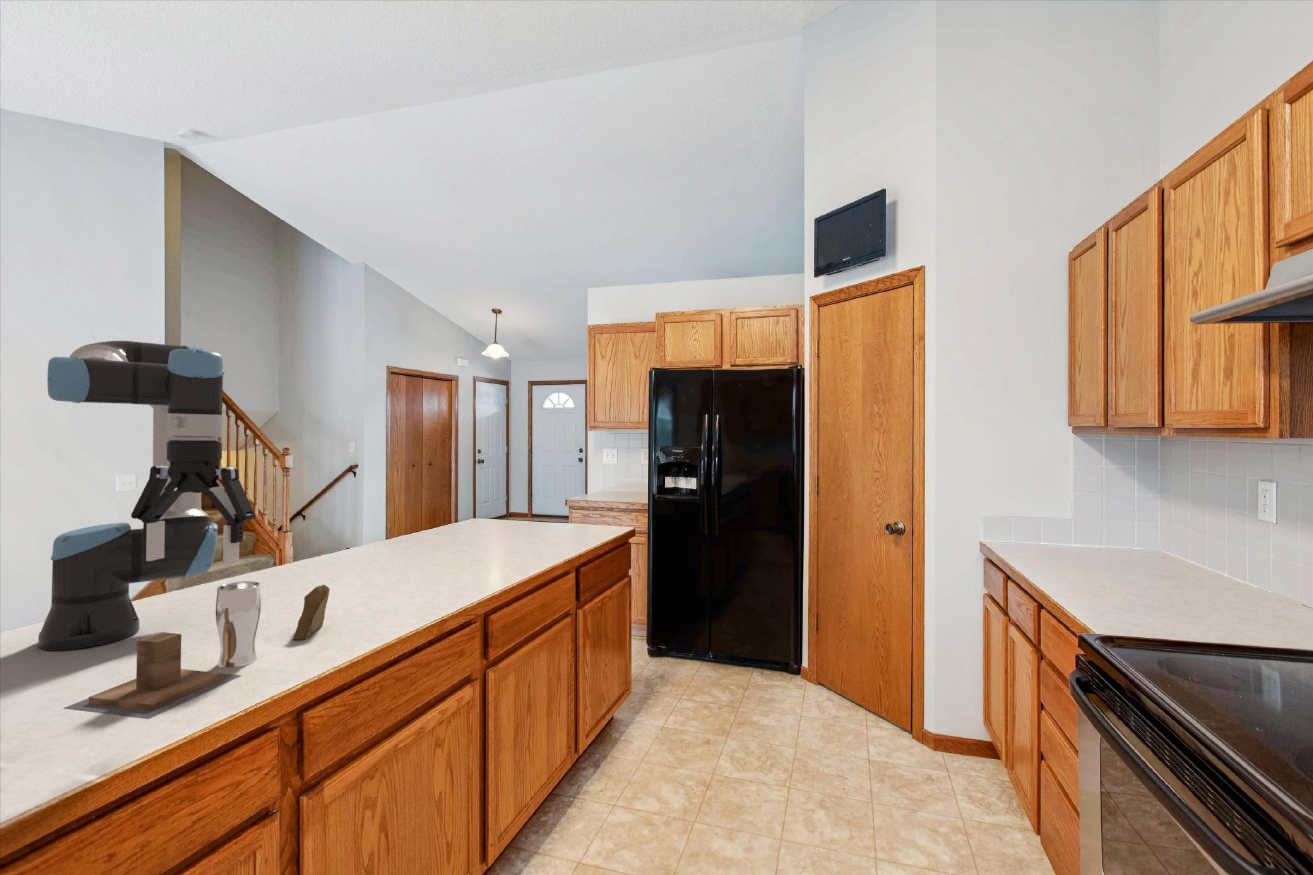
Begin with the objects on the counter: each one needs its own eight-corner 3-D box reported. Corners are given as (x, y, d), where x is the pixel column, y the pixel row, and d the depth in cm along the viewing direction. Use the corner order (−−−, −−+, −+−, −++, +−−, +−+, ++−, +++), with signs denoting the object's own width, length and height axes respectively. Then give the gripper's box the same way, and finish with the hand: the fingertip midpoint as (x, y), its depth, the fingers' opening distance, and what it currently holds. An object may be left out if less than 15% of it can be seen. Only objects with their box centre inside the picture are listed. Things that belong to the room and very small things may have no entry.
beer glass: (253, 654, 114) (254, 579, 114) (265, 663, 109) (266, 585, 109) (209, 664, 108) (211, 585, 108) (220, 675, 104) (221, 592, 104)
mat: (63, 711, 90) (63, 707, 90) (166, 670, 106) (166, 667, 106) (148, 721, 87) (148, 718, 87) (241, 678, 103) (241, 675, 103)
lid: (88, 703, 92) (89, 647, 92) (164, 672, 103) (165, 622, 103) (151, 711, 90) (152, 653, 89) (221, 678, 101) (222, 628, 101)
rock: (310, 632, 120) (347, 612, 130) (287, 599, 120) (326, 581, 130) (281, 657, 123) (319, 635, 133) (258, 624, 124) (298, 605, 133)
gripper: (104, 437, 97) (102, 563, 97) (249, 440, 96) (246, 567, 96) (145, 437, 104) (143, 554, 104) (279, 440, 104) (277, 557, 104)
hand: (193, 560), depth 100 cm, fingers open, 13 cm apart
